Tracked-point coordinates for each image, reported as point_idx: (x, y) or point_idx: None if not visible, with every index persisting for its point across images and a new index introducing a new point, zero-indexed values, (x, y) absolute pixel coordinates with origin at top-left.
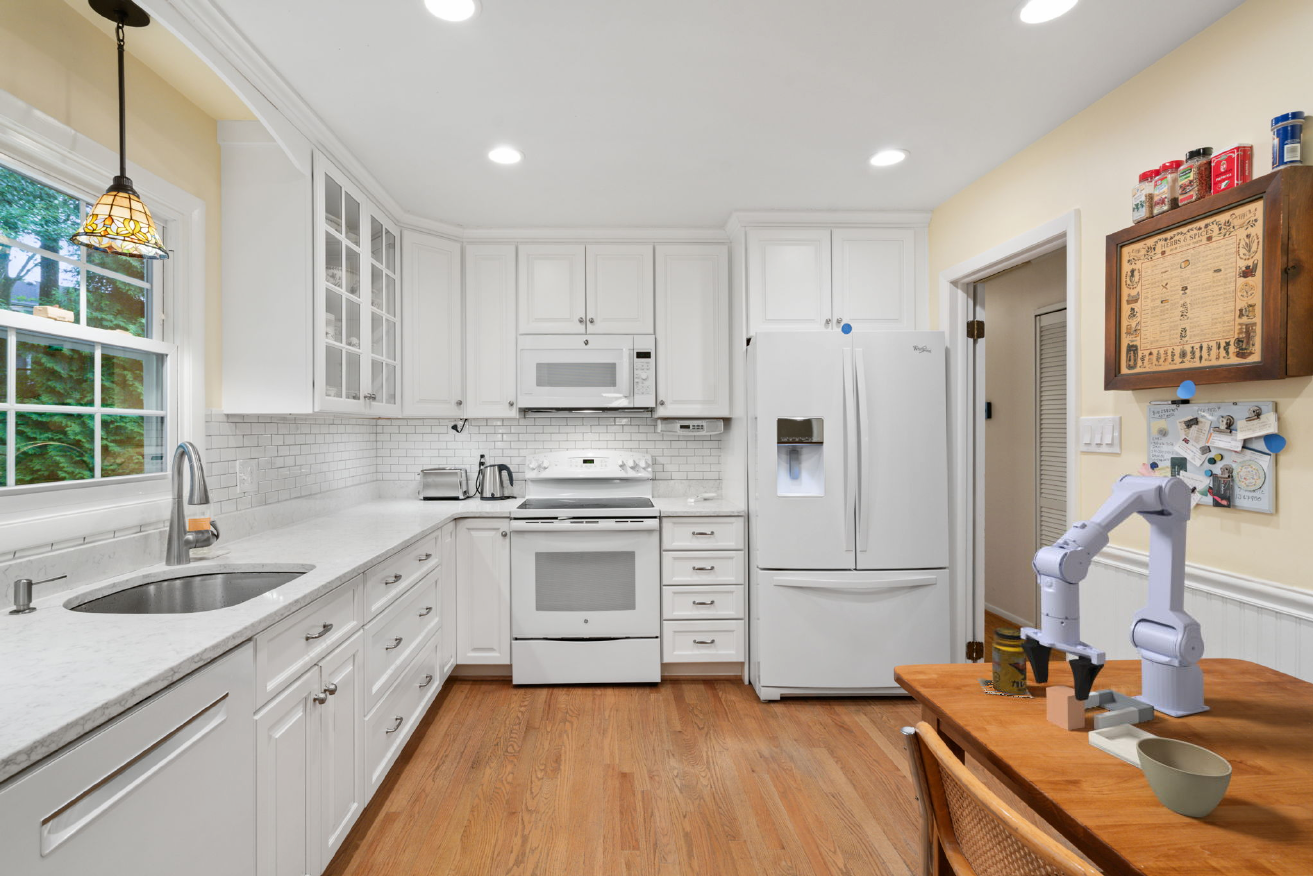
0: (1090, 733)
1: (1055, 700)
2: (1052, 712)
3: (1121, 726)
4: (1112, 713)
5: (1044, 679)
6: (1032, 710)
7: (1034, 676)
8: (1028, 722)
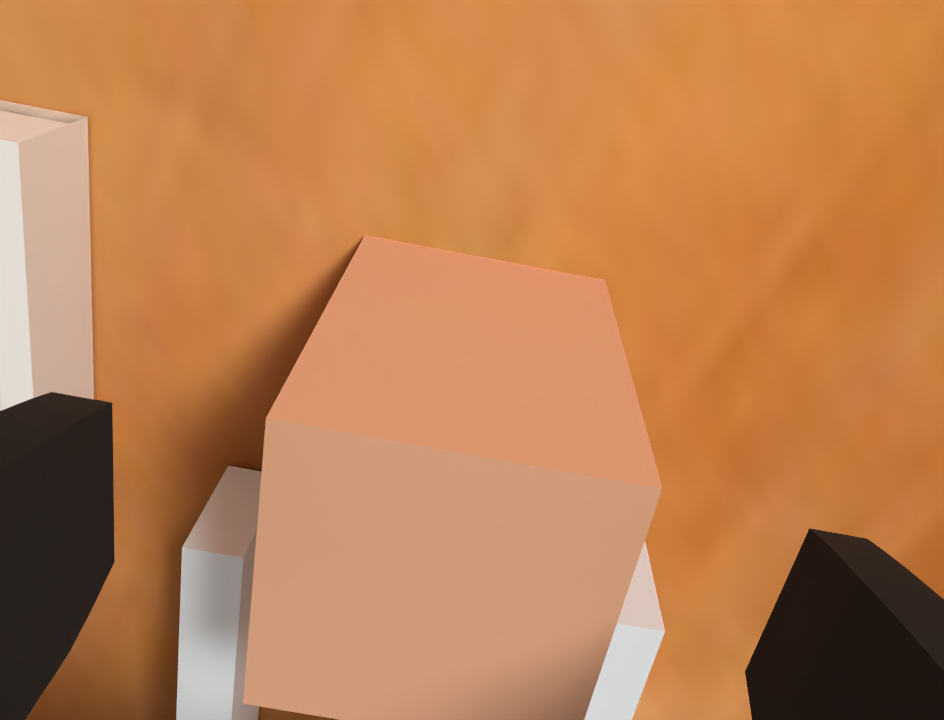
0: (3, 138)
1: (494, 382)
2: (541, 314)
3: None
4: (198, 707)
5: (783, 673)
6: (809, 384)
7: (937, 595)
8: (705, 48)
